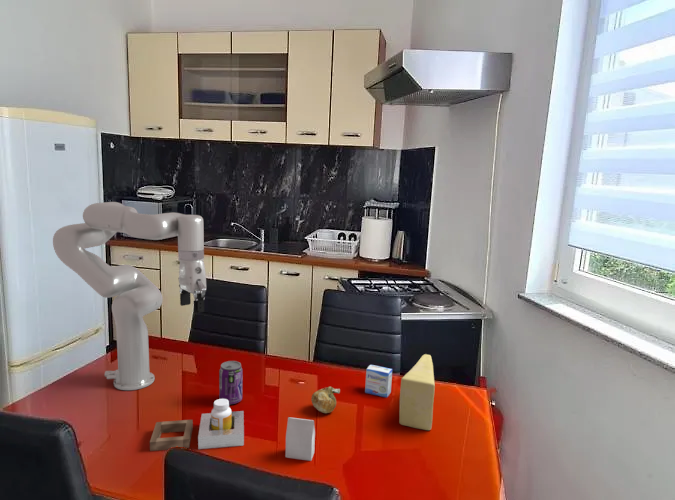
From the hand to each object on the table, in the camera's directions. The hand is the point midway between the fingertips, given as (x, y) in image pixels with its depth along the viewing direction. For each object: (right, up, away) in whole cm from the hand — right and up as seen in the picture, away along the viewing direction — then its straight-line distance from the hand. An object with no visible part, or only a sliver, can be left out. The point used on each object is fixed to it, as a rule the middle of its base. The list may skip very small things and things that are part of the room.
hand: (192, 308), depth 145 cm
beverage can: (+12, -29, +1) cm, 32 cm away
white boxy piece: (+36, -35, -26) cm, 56 cm away
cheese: (+72, -32, -1) cm, 78 cm away
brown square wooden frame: (+1, -32, -21) cm, 39 cm away
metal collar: (+14, -32, -18) cm, 40 cm away
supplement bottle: (+14, -33, -18) cm, 40 cm away
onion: (+42, -31, -3) cm, 52 cm away
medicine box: (+59, -30, +10) cm, 67 cm away
